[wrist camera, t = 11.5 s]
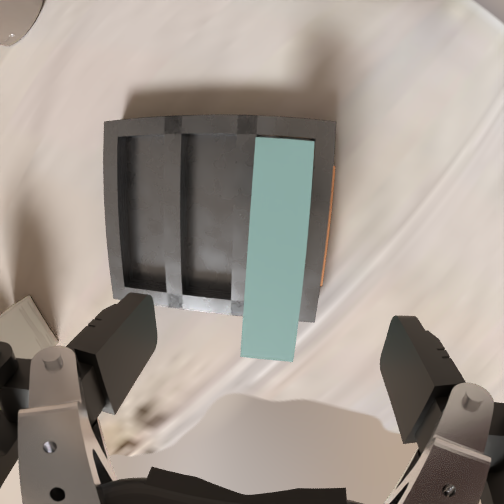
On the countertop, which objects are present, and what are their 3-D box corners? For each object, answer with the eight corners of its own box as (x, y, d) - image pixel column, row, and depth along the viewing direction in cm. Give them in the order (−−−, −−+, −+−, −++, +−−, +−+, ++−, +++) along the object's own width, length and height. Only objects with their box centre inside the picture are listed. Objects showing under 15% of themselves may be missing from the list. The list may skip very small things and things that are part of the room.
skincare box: (14, 304, 36) (-52, 353, 22) (31, 292, 34) (-42, 346, 20) (42, 351, 38) (-15, 408, 24) (62, 344, 36) (-1, 408, 22)
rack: (120, 123, 26) (104, 121, 23) (333, 125, 24) (338, 121, 22) (126, 286, 32) (113, 298, 29) (314, 306, 30) (316, 322, 27)
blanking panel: (267, 161, 25) (255, 137, 15) (303, 164, 25) (314, 141, 15) (256, 302, 27) (240, 356, 17) (291, 306, 27) (292, 361, 17)
